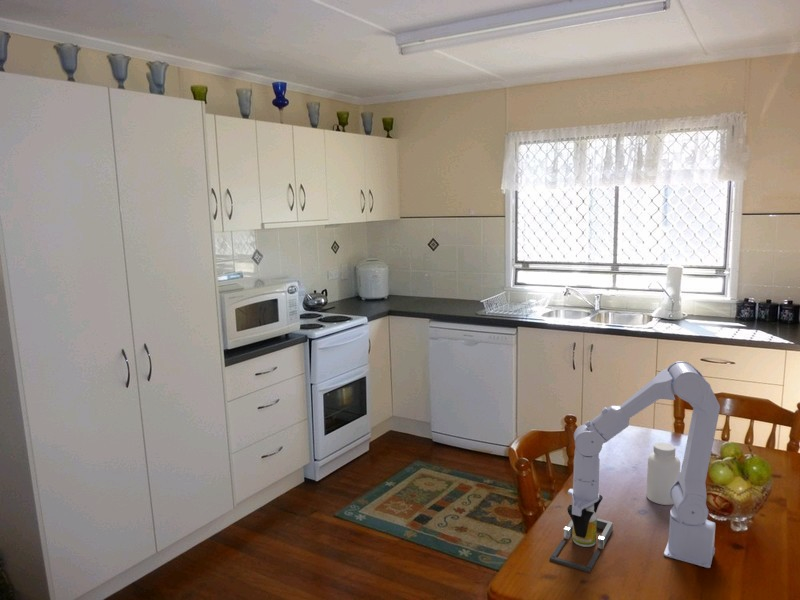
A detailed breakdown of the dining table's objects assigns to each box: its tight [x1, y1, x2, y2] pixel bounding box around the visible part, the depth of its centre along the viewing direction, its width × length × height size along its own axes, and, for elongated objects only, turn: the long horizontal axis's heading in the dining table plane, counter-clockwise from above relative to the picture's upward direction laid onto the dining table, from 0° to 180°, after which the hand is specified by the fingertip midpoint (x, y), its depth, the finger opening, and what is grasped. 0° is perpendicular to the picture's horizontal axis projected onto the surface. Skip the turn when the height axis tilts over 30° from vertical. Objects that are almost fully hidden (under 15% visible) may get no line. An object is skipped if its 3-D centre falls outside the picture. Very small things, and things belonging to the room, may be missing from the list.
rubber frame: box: [549, 539, 601, 574], centre depth 137 cm, size 9×8×1 cm
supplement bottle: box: [571, 504, 598, 548], centre depth 143 cm, size 5×5×10 cm
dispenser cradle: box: [563, 517, 614, 550], centre depth 146 cm, size 9×10×2 cm
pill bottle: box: [645, 442, 681, 506], centre depth 161 cm, size 8×8×15 cm
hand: (584, 530), depth 143 cm, fingers open, 5 cm apart
